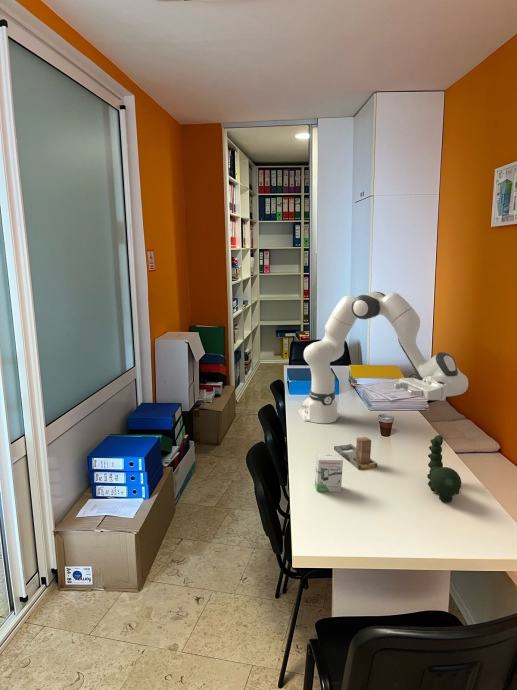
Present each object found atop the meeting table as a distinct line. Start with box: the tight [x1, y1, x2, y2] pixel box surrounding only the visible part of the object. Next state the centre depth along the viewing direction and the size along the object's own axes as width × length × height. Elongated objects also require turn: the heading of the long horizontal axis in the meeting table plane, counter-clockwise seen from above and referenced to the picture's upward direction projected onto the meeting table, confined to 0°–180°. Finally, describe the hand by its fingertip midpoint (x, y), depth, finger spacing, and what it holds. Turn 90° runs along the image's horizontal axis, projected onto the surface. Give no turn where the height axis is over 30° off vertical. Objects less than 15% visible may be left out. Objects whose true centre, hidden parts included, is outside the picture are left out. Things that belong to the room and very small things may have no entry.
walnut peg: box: [355, 436, 372, 465], centre depth 192 cm, size 4×4×10 cm
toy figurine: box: [426, 434, 462, 503], centre depth 170 cm, size 9×19×25 cm
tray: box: [333, 443, 378, 470], centre depth 199 cm, size 20×8×2 cm, turn 19°
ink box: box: [314, 453, 344, 493], centre depth 172 cm, size 9×5×12 cm, turn 91°
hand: (402, 389), depth 196 cm, fingers open, 8 cm apart
